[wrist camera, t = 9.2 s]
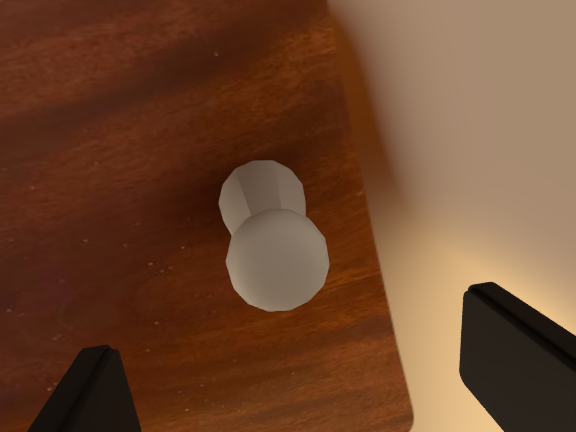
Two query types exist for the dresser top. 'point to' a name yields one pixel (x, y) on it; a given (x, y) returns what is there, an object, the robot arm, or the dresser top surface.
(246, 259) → the salt shaker
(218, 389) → the dresser top surface
